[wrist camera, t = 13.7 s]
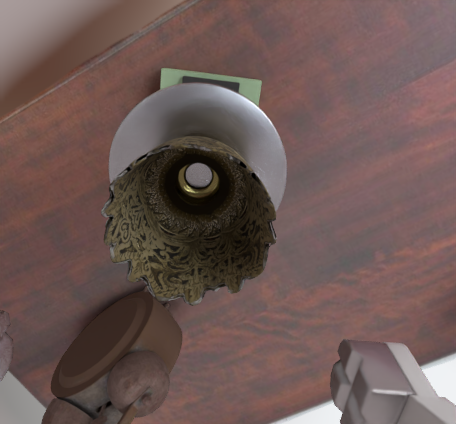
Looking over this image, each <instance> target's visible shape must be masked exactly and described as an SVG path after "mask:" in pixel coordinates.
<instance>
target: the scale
mask: <svg viewBox="0 0 456 424" xmlns="http://www.w3.org/2000/svg"><path fill="white" fill-rule="evenodd" d="M191 82H201V83H211V84H216V85H220V86H223V87H226V88H229V89H232V90H234V91H236V92H238V93H240V94H242V95H244V96H245V97H247V98H248V99H250V100H251V101H252V102H254V103H255V104H256V105H257V106H258V104H259V97H260V90H261V84H262V81H260V80H257V79H249V78H242V77H234V76H226V75H218V74H210V73H203V72H195V71H187V70H179V69H172V68H161V82H160V90H161V89H164V88H166V87H169V86H172V85H177V84H181V83H191Z"/></svg>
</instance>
